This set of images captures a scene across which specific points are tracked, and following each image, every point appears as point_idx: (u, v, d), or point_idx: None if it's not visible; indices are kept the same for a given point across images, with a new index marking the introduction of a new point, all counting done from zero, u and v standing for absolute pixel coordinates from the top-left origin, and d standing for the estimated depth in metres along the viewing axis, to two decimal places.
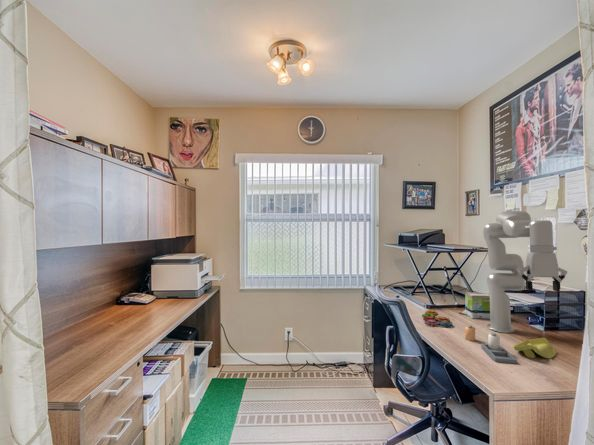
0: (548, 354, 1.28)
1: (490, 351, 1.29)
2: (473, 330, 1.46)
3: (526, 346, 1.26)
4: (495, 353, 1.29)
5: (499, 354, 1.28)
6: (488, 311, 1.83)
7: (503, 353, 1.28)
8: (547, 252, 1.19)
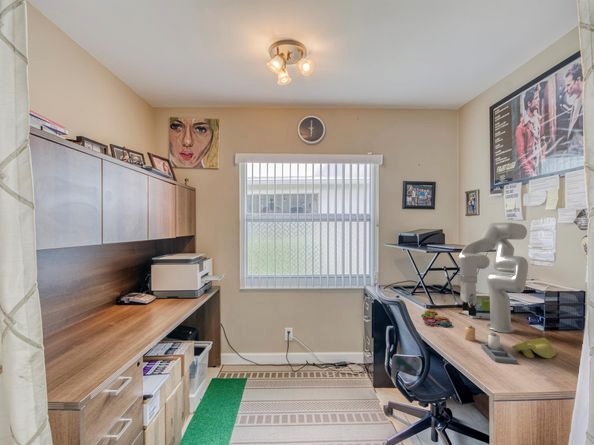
0: (547, 354, 1.28)
1: (490, 351, 1.29)
2: (473, 330, 1.46)
3: (524, 346, 1.26)
4: (495, 353, 1.29)
5: (499, 354, 1.28)
6: (488, 311, 1.83)
7: (503, 353, 1.28)
8: None
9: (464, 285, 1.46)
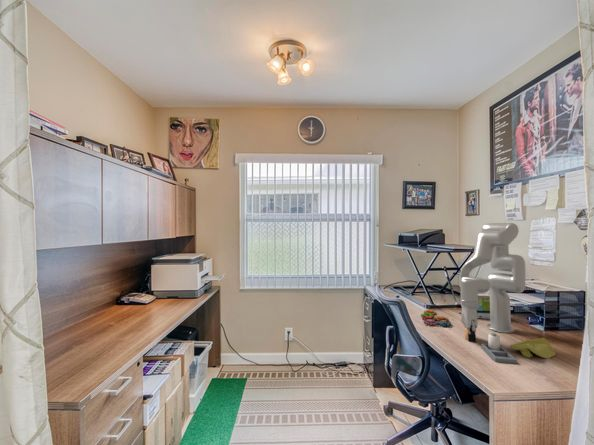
0: (546, 354, 1.28)
1: (490, 351, 1.29)
2: None
3: (522, 345, 1.26)
4: (495, 353, 1.29)
5: (499, 354, 1.28)
6: (488, 311, 1.83)
7: (503, 353, 1.28)
8: None
9: (465, 310, 1.46)
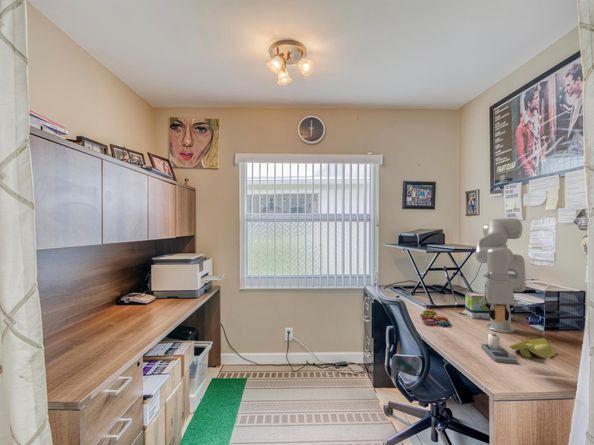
0: (546, 354, 1.28)
1: (490, 351, 1.29)
2: None
3: (521, 345, 1.26)
4: (495, 353, 1.29)
5: (499, 354, 1.28)
6: (488, 311, 1.83)
7: (503, 353, 1.28)
8: None
9: (507, 285, 1.24)
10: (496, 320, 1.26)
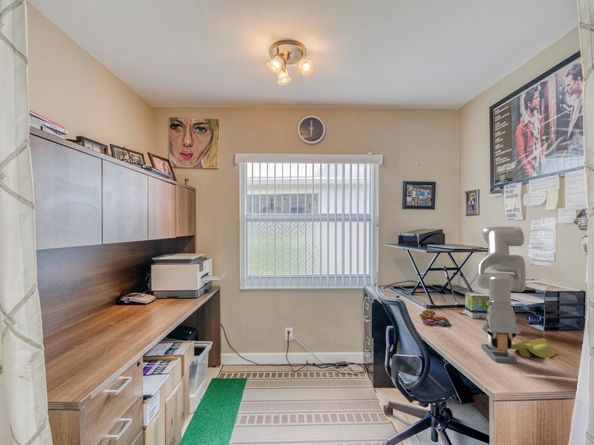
0: (545, 354, 1.28)
1: (490, 351, 1.29)
2: None
3: (520, 345, 1.27)
4: (495, 353, 1.29)
5: (499, 354, 1.28)
6: None
7: (503, 353, 1.28)
8: None
9: (510, 313, 1.23)
10: (498, 349, 1.25)
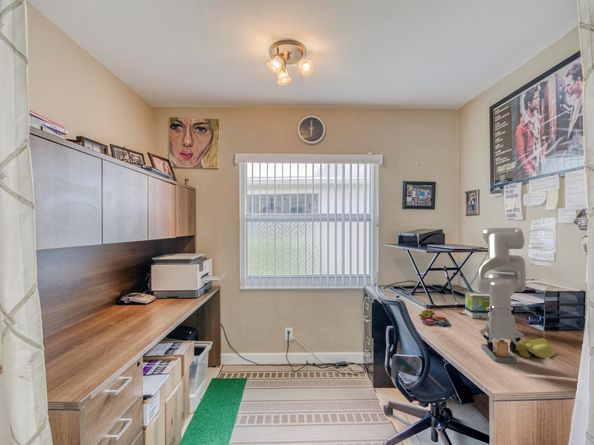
0: (545, 354, 1.28)
1: (490, 351, 1.29)
2: None
3: (519, 345, 1.27)
4: (495, 353, 1.29)
5: None
6: (488, 311, 1.83)
7: None
8: None
9: (510, 319, 1.23)
10: None
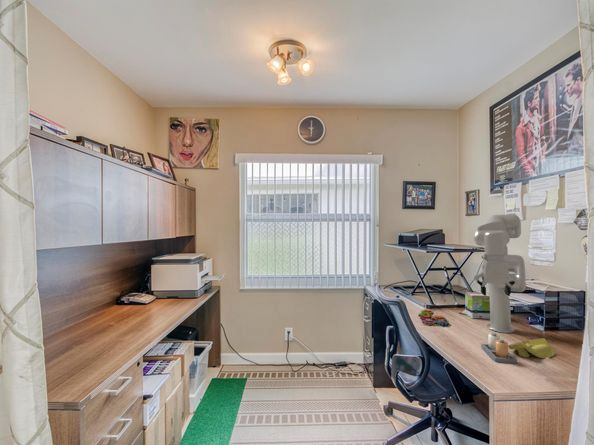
0: (544, 354, 1.28)
1: (490, 351, 1.29)
2: None
3: (518, 345, 1.27)
4: (495, 353, 1.29)
5: None
6: (488, 311, 1.83)
7: None
8: None
9: (503, 265, 1.32)
10: None
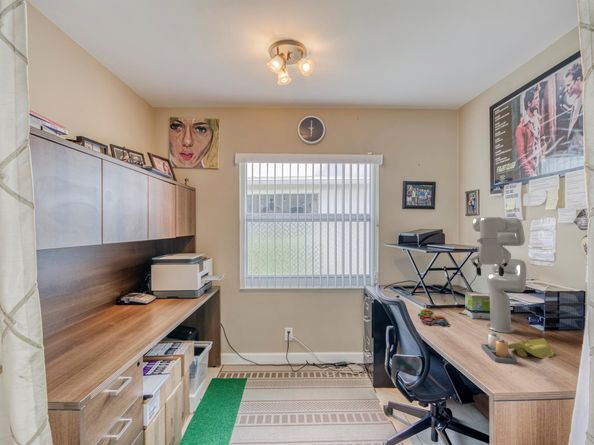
0: (543, 354, 1.28)
1: (490, 351, 1.29)
2: None
3: (516, 344, 1.27)
4: (495, 353, 1.29)
5: None
6: (488, 311, 1.83)
7: None
8: None
9: (497, 247, 1.44)
10: (499, 357, 1.25)
